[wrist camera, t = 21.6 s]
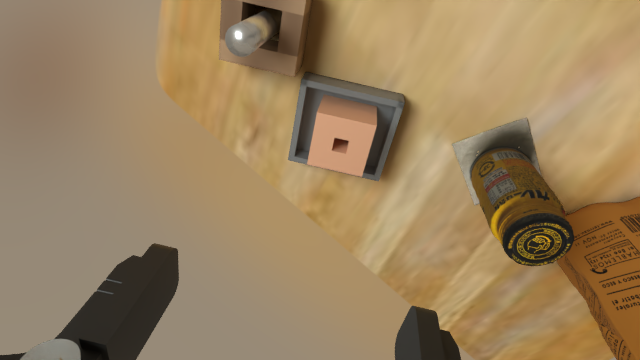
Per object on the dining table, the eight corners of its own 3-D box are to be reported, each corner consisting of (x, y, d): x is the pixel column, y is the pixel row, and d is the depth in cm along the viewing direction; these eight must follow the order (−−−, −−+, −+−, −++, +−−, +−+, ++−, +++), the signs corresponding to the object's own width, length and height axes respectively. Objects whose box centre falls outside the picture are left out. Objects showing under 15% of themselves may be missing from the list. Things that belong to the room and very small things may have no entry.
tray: (403, 94, 37) (404, 102, 34) (378, 169, 41) (378, 181, 39) (305, 71, 37) (301, 78, 35) (292, 149, 41) (288, 160, 39)
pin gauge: (286, 10, 34) (256, 28, 26) (283, 34, 35) (253, 59, 27) (263, 5, 34) (225, 21, 26) (260, 29, 35) (224, 53, 27)
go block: (314, -12, 33) (307, -9, 29) (301, 65, 36) (294, 76, 33) (238, -30, 33) (222, -28, 29) (233, 49, 36) (219, 59, 33)
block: (363, 153, 40) (361, 176, 36) (314, 142, 40) (307, 164, 36) (376, 106, 37) (376, 125, 33) (323, 94, 37) (316, 112, 33)
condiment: (474, 204, 42) (505, 282, 32) (451, 143, 39) (478, 210, 29) (543, 183, 40) (600, 261, 30) (525, 116, 36) (583, 178, 26)
